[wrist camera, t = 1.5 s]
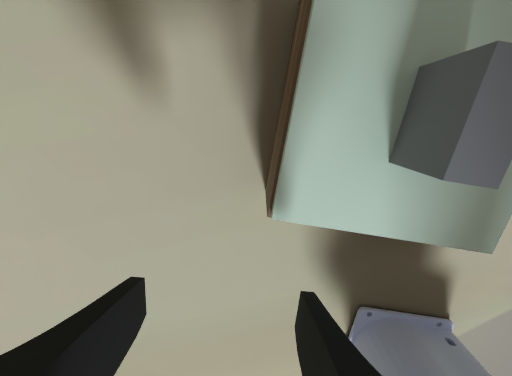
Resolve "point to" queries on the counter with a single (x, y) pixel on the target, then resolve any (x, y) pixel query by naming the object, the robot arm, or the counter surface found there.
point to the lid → (403, 122)
